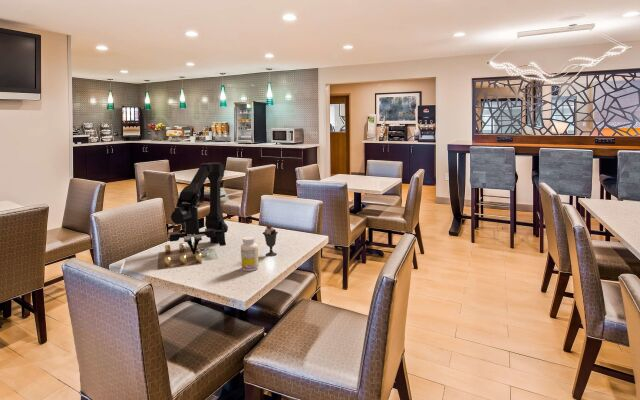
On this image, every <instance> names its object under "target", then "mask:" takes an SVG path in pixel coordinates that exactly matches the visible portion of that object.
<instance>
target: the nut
mask: <svg viewBox="0 0 640 400" xmlns="http://www.w3.org/2000/svg"><path fill="white" fill-rule="evenodd" d="M210 249H211V248H209V247H200V248H198V250H196V253H201V257H207V256H209V255H210Z"/></svg>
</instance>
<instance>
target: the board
mask: <svg viewBox="0 0 640 400" xmlns="http://www.w3.org/2000/svg"><path fill="white" fill-rule="evenodd" d="M209 249H210V255H209V256H207V257H201V260H202V262H201V263H196V254H197V253H196V252H195V254H193V253H192V251H191V248H185V251H184V252H180V249H174V250H171V253H170V254H166V253H165V251H159V252H158V257H157V271H159V270H161V271H162V270H168V269H175V268H183V267H190V266H197V265H203V262H204V261H206V262H207V261H212V260H218V259H219V257H218V254H217V252H216V249H215V248H214V247H212V248H209ZM181 255H186V263H187V264H185V265H181V259H180V256H181ZM165 257H170V259H171V266H170V267H165Z"/></svg>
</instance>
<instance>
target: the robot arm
mask: <svg viewBox="0 0 640 400" xmlns="http://www.w3.org/2000/svg"><path fill="white" fill-rule="evenodd" d="M225 170H226V168H225V165H224V164H223V163H222V162H206V163H205V162H204V163H203V162H202V163H200V164H199V167H198V170H197V171H196V172H195V175H194V176H193V178H192V180H191V182H190V183H189V184H188V185H186V186H184V187H183V189H181V191H180V193H179V196H178V199H177V201H176V206H175V207H174V210H173V211H172V213H171V215H170V219H171V221H172V223H173V224H175V225H180V226H181V230H184V232H182V233H180V231H170V232H169V233H168V235H169V242H170V243H171V242H178V241H179V240H180V239H181V238H182V239H183V243H187V244H188V247H189V249H191V251H192V253H193V254H195V252H196V248H197V245H198V246H199V242H200V241H203V236H204V237H205V236H206V237H207V238H208V239H209V240H210V241H209V243H210V244H218V245H219V246H226V244H227V243H226V233H228V230H229V226H228V225H227V224H226V222H225V218H224V217H225V216H224V215H223V213H222V212H221V181H222V180H223V179H224V177H225ZM207 179H208V181H209V212H208V214H207V215H205V221H204V222H205V223H204V224H205V227H206V228H204V231H203V230H202V231H200V225H199V224H200V223H199V222H200V221H199V210H198V209H199V207H200V205H201V204H199V203H198V202H199V201H200V199H201V196H202V194H201V193H202V192H201V190H202V188H203V186H204V184H205V182H206V180H207ZM192 238H193V241H192ZM193 242H194V249H193Z"/></svg>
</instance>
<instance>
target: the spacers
mask: <svg viewBox="0 0 640 400" xmlns="http://www.w3.org/2000/svg"><path fill="white" fill-rule="evenodd" d="M192 245H193V249H194V241H192ZM178 246H179V248H178V250H180V252H184V251H185V249H186V248H185V242H181V243H179V244H178ZM198 249H199V244H198V245H197V248H196V250H198ZM171 251H172V250H171V244H166V245H164V252H165V253H166V254H170V253H171ZM180 259H181V265H185V264H187V263H186V255H181V256H180ZM201 262H202V263H203V261H202V260H201V253H197V254H196V263H201ZM170 266H171V259H170V257H165V267H170Z"/></svg>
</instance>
